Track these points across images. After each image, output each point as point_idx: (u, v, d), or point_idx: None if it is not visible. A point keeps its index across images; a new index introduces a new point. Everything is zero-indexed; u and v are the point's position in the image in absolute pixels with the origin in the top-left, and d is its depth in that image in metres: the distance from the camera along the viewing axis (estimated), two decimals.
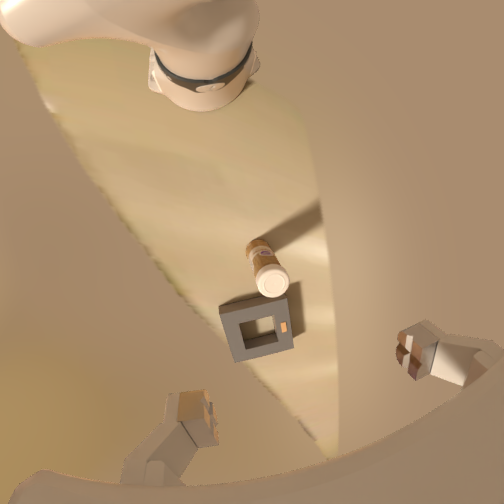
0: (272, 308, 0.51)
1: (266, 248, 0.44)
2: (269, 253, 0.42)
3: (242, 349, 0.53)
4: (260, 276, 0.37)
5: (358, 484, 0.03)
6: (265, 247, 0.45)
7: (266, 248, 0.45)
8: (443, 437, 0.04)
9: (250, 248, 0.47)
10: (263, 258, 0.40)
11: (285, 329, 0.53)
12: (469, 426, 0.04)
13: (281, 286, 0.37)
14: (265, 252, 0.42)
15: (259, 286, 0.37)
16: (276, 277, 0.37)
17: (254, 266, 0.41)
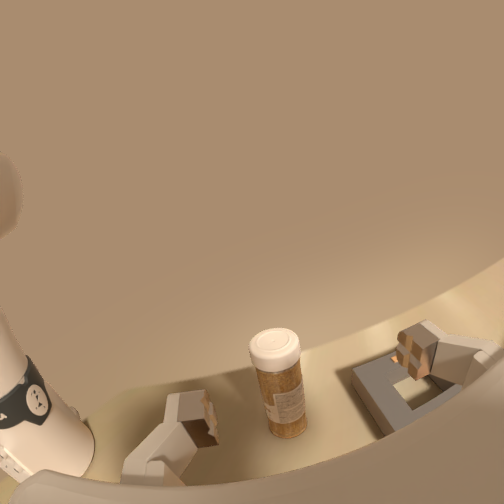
0: (373, 378, 0.27)
1: None
2: None
3: (459, 386, 0.21)
4: (259, 358, 0.21)
5: (358, 484, 0.03)
6: None
7: None
8: (443, 437, 0.04)
9: (275, 426, 0.25)
10: (259, 383, 0.24)
11: None
12: (469, 426, 0.04)
13: (277, 333, 0.24)
14: None
15: (276, 355, 0.21)
16: (262, 340, 0.23)
17: (272, 392, 0.23)
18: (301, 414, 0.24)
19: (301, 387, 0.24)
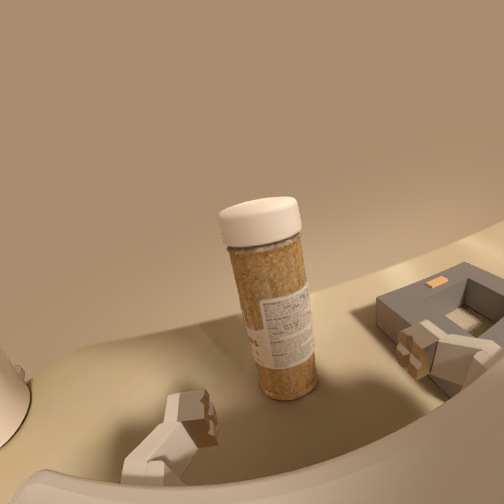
0: (408, 306, 0.19)
1: None
2: None
3: None
4: (232, 218, 0.13)
5: (358, 484, 0.03)
6: None
7: None
8: (443, 437, 0.04)
9: (267, 378, 0.17)
10: (237, 287, 0.16)
11: (439, 278, 0.21)
12: (469, 426, 0.04)
13: (264, 199, 0.16)
14: None
15: (260, 209, 0.13)
16: (239, 206, 0.15)
17: (258, 297, 0.15)
18: (309, 353, 0.16)
19: (307, 296, 0.16)
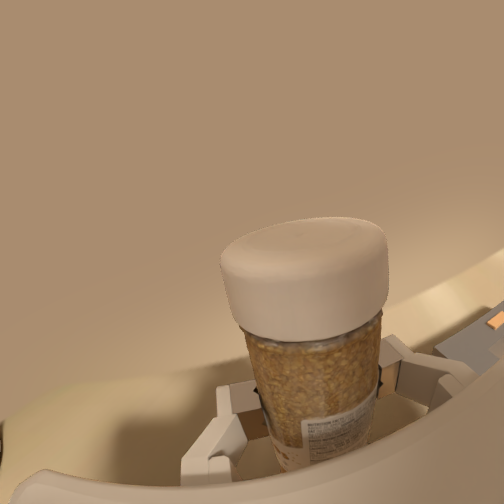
0: (475, 359, 0.11)
1: None
2: None
3: None
4: (255, 280, 0.06)
5: (358, 484, 0.03)
6: None
7: None
8: (443, 437, 0.04)
9: None
10: (257, 386, 0.08)
11: (500, 314, 0.13)
12: (469, 426, 0.04)
13: (311, 223, 0.08)
14: None
15: (326, 260, 0.05)
16: (264, 237, 0.07)
17: (300, 415, 0.07)
18: None
19: (376, 392, 0.08)
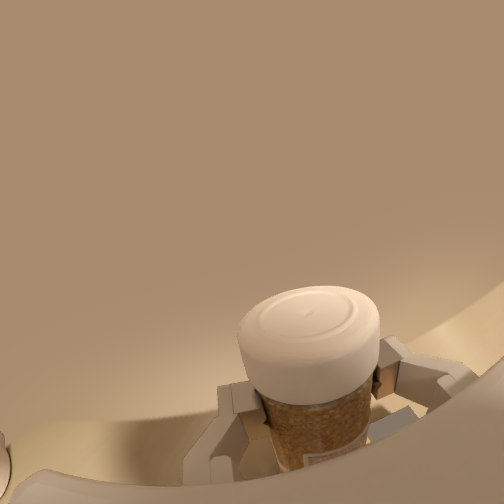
0: None
1: None
2: None
3: None
4: (268, 364, 0.07)
5: (358, 484, 0.03)
6: None
7: None
8: (443, 437, 0.04)
9: None
10: None
11: None
12: (469, 426, 0.04)
13: (316, 295, 0.09)
14: None
15: (325, 351, 0.06)
16: (275, 313, 0.09)
17: (302, 450, 0.07)
18: None
19: (367, 428, 0.08)
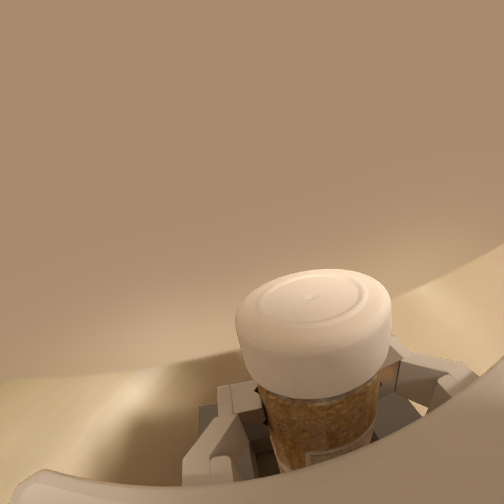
0: None
1: None
2: None
3: None
4: (270, 352, 0.06)
5: (358, 484, 0.03)
6: None
7: None
8: (443, 437, 0.04)
9: None
10: (267, 421, 0.08)
11: None
12: (469, 426, 0.04)
13: (321, 278, 0.08)
14: None
15: (334, 338, 0.05)
16: (277, 297, 0.08)
17: (304, 448, 0.07)
18: None
19: (373, 424, 0.08)
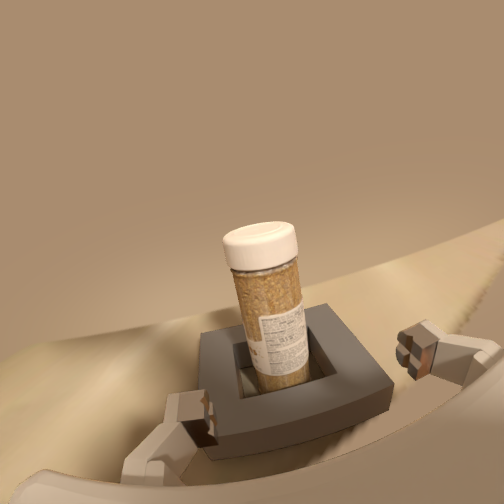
0: (215, 347, 0.23)
1: None
2: None
3: (340, 379, 0.16)
4: (235, 246, 0.15)
5: (358, 484, 0.03)
6: None
7: None
8: (443, 437, 0.04)
9: (265, 383, 0.19)
10: (239, 303, 0.18)
11: None
12: (469, 426, 0.04)
13: (265, 224, 0.18)
14: None
15: (260, 238, 0.15)
16: (242, 231, 0.17)
17: (257, 313, 0.16)
18: (303, 362, 0.18)
19: (301, 312, 0.17)
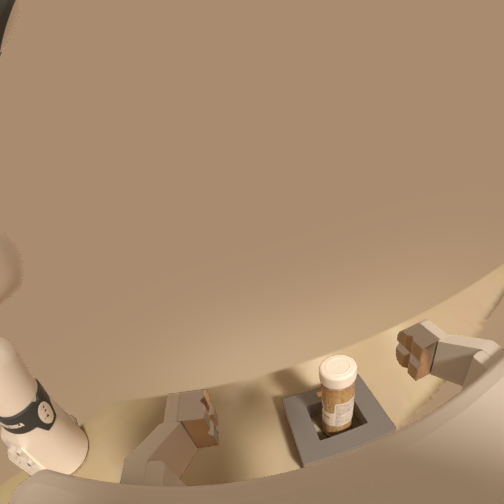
0: (296, 409, 0.34)
1: None
2: None
3: (369, 426, 0.28)
4: (330, 380, 0.27)
5: (358, 484, 0.03)
6: None
7: None
8: (443, 437, 0.04)
9: (329, 429, 0.30)
10: (323, 397, 0.29)
11: None
12: (469, 426, 0.04)
13: (340, 359, 0.29)
14: None
15: (343, 377, 0.26)
16: (329, 366, 0.29)
17: (334, 403, 0.28)
18: (350, 418, 0.30)
19: (353, 398, 0.29)
